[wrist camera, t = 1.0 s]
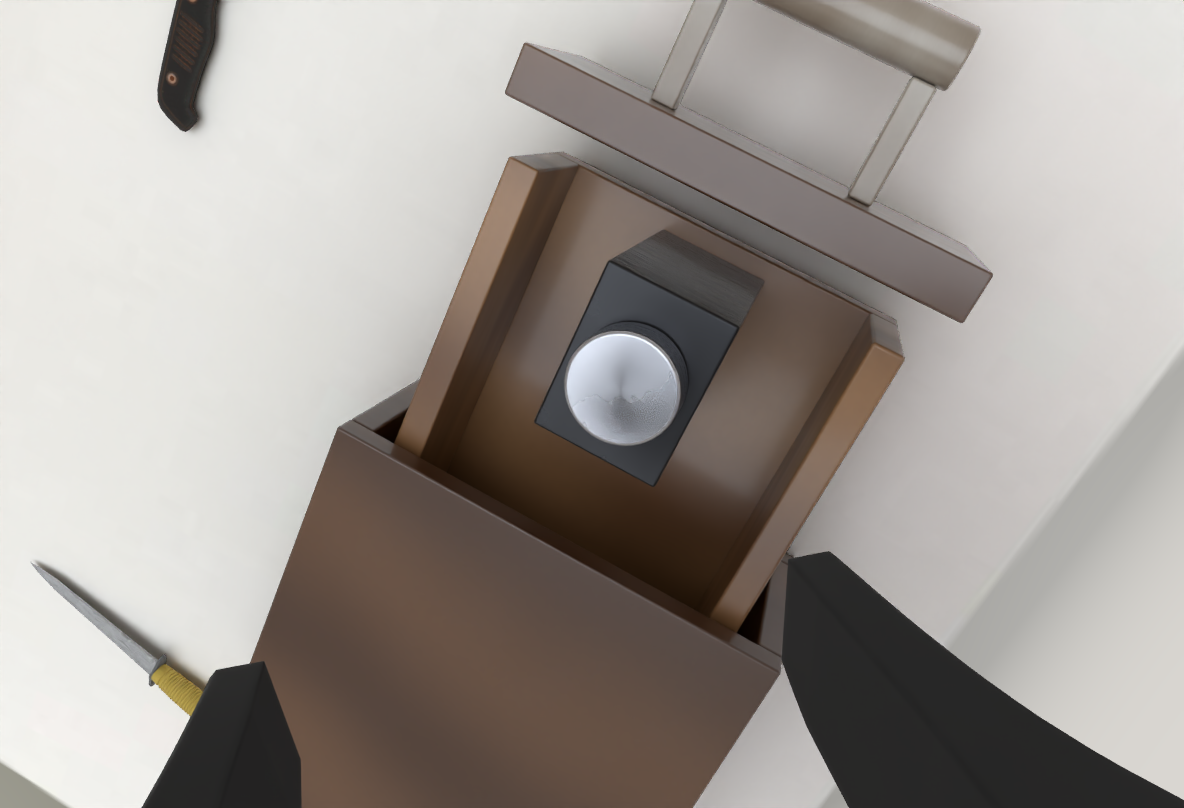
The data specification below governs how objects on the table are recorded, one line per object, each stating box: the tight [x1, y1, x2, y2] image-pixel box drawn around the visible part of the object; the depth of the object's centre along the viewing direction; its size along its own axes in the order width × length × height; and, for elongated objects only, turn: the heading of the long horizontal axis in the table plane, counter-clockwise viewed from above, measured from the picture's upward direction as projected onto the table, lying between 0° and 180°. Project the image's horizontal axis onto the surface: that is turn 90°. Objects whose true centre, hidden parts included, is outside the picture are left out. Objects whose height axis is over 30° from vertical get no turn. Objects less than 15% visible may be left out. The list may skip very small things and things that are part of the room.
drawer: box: [394, 0, 993, 633], centre depth 24 cm, size 18×11×5 cm, turn 155°
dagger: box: [30, 562, 203, 716], centre depth 36 cm, size 11×1×2 cm
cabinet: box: [250, 379, 793, 808], centre depth 28 cm, size 14×12×6 cm
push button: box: [534, 230, 764, 487], centre depth 22 cm, size 3×4×7 cm
